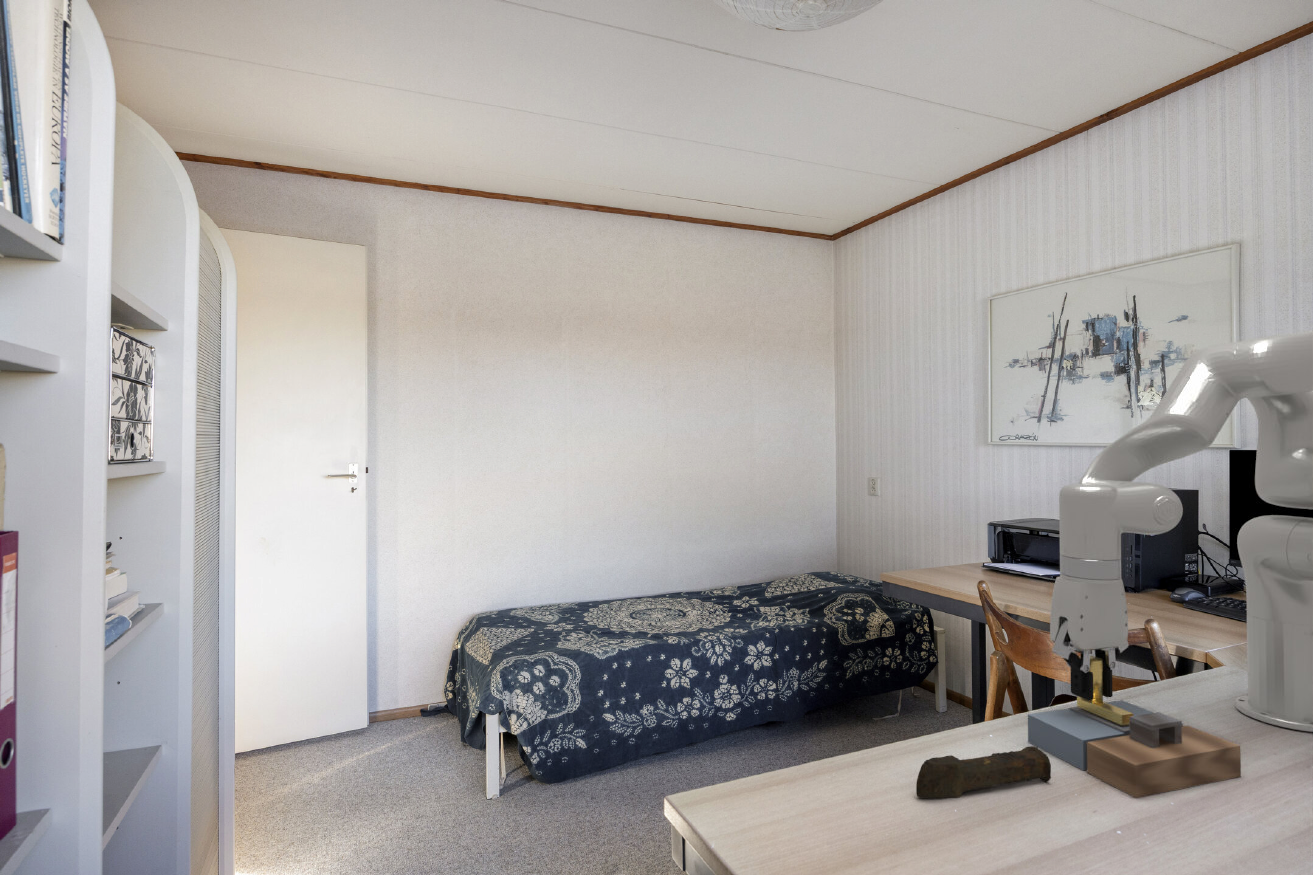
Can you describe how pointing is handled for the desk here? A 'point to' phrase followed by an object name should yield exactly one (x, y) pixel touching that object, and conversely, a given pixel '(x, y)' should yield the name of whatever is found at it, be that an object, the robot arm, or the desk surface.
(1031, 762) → the hand tool
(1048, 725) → the door leaf
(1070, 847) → the desk surface
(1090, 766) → the door jamb
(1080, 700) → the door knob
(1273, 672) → the robot arm
